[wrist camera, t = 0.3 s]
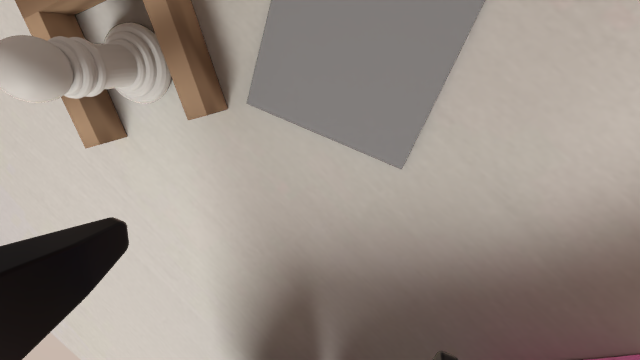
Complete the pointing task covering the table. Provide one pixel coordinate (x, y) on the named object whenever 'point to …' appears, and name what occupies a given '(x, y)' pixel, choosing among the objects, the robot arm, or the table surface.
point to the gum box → (620, 358)
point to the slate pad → (360, 67)
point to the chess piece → (85, 66)
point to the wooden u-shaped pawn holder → (177, 47)
